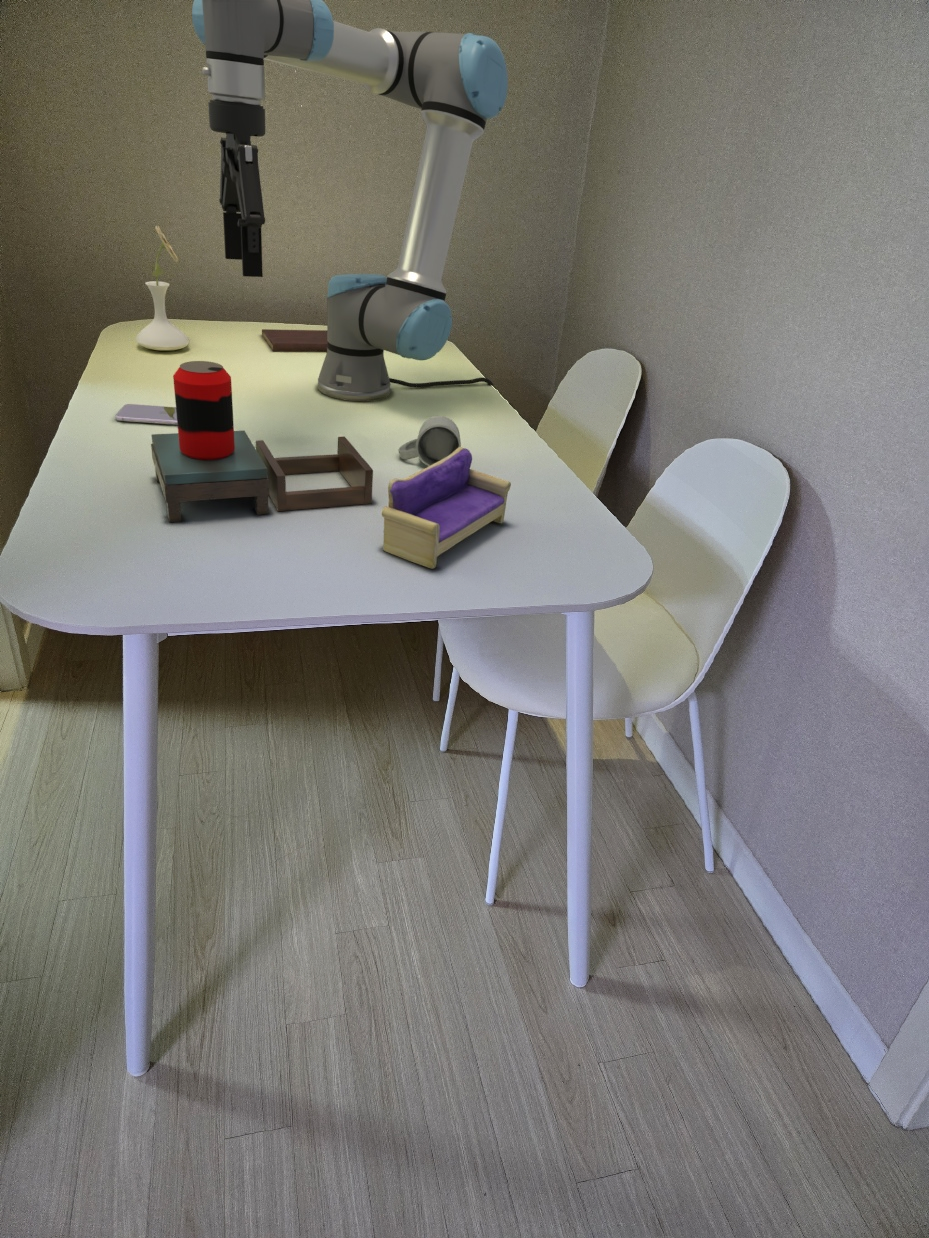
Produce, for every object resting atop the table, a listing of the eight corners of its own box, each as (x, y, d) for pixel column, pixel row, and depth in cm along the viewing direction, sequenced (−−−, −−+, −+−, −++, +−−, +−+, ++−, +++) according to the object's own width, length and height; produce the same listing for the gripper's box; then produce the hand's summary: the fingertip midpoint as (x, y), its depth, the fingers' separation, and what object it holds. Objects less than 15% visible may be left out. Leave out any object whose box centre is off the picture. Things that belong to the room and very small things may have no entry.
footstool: (247, 472, 127) (245, 429, 123) (270, 514, 115) (269, 469, 111) (154, 478, 121) (149, 433, 117) (168, 523, 109) (163, 475, 105)
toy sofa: (430, 573, 105) (437, 502, 100) (378, 551, 109) (382, 482, 103) (506, 523, 121) (516, 459, 115) (459, 506, 124) (466, 443, 119)
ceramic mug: (458, 453, 143) (461, 412, 139) (458, 470, 136) (462, 427, 132) (399, 449, 143) (401, 407, 139) (397, 466, 136) (399, 422, 132)
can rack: (343, 467, 132) (344, 436, 129) (371, 503, 122) (373, 469, 119) (256, 473, 127) (255, 440, 124) (277, 511, 116) (277, 476, 113)
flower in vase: (180, 357, 176) (170, 233, 163) (128, 351, 175) (114, 226, 162) (198, 343, 187) (190, 226, 174) (149, 337, 187) (137, 220, 173)
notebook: (261, 335, 199) (261, 327, 198) (338, 336, 206) (338, 328, 205) (273, 351, 188) (272, 343, 187) (354, 352, 195) (354, 344, 194)
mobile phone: (124, 402, 145) (209, 408, 147) (125, 407, 145) (209, 413, 147) (113, 415, 138) (202, 421, 140) (113, 421, 139) (202, 427, 141)
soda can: (221, 464, 111) (215, 378, 104) (170, 455, 111) (161, 369, 105) (243, 446, 117) (239, 364, 111) (194, 438, 118) (188, 356, 111)
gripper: (194, 94, 116) (203, 251, 128) (225, 100, 98) (233, 283, 109) (245, 101, 119) (251, 253, 131) (285, 107, 101) (287, 285, 112)
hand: (243, 267), depth 120 cm, fingers open, 13 cm apart
